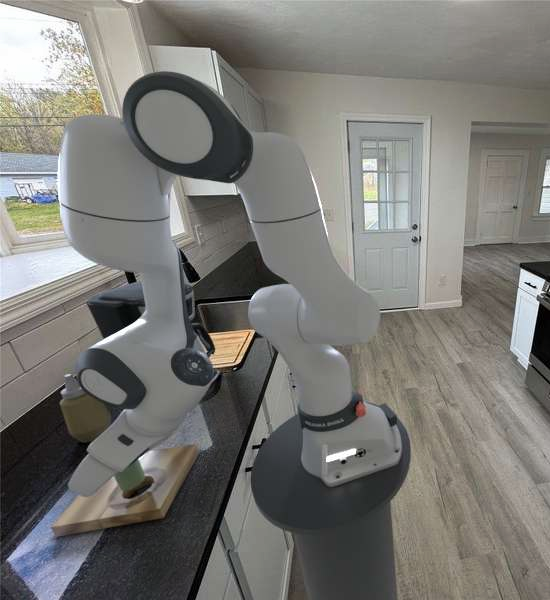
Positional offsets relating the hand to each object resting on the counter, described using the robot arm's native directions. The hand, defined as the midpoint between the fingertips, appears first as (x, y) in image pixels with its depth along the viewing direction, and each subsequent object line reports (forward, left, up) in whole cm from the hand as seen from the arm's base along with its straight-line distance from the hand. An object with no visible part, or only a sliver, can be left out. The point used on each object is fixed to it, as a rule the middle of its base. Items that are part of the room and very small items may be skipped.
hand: (120, 459), depth 60 cm
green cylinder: (-1, 0, -6) cm, 6 cm away
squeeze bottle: (+22, -22, -10) cm, 33 cm away
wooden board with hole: (+1, -2, -10) cm, 11 cm away
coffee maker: (+14, -44, -10) cm, 47 cm away
